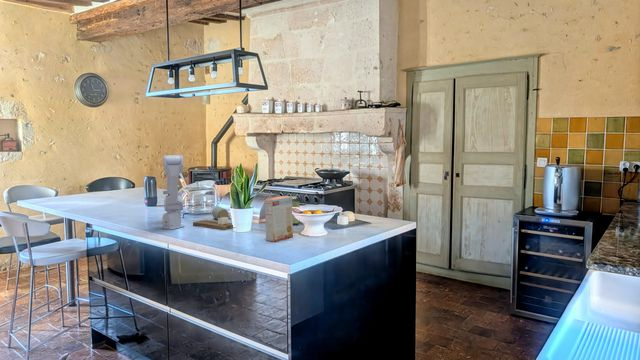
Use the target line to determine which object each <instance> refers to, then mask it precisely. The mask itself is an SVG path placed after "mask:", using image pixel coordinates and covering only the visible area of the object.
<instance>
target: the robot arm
mask: <svg viewBox="0 0 640 360" xmlns="http://www.w3.org/2000/svg"><path fill="white" fill-rule="evenodd" d="M162 161H163V171H164V173H165V174H166V190H163V191H162V194H163V195H166V197H165V198H164V205H163V207H164V211H165V213H164V214H163V215H162V227H161V229H166V230H176V229H180V228H185V225H182V217H181V216H182V214H181V213H182V211H183V210H184V200H183V197H182V196H183V193H182V192H180V191H179V177H180V175H181V174H182V173H183V170H184V156H183V154H173V155H170V154H164V155H163V156H162Z"/></svg>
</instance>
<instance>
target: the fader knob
mask: <svg viewBox="0 0 640 360" xmlns="http://www.w3.org/2000/svg"><path fill="white" fill-rule="evenodd" d="M217 221H218V224H221V225H223V224H227V223H229V218H228V217H222V218H218V219H217Z"/></svg>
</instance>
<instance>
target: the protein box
mask: <svg viewBox="0 0 640 360" xmlns="http://www.w3.org/2000/svg"><path fill="white" fill-rule="evenodd" d="M274 197H275V196H273V197H272V198H274ZM292 207H299V208H300V196H292ZM299 225H300V220H299V221H298V220H297V219H295V218H294V216H293V227H294V226H295V227H296V226H297V227H298V226H299Z"/></svg>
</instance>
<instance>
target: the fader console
mask: <svg viewBox="0 0 640 360" xmlns="http://www.w3.org/2000/svg"><path fill="white" fill-rule="evenodd" d="M232 223H233V222H228V223H227V224H223V225H221V224H218V220H212V219H207V218H206V219H202V220H201V219H200V220H197V221H193V222H192V226H193V227H200V228H207V229H213V230H219V231H227V230H230V229H234V228H233V225H232Z"/></svg>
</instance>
